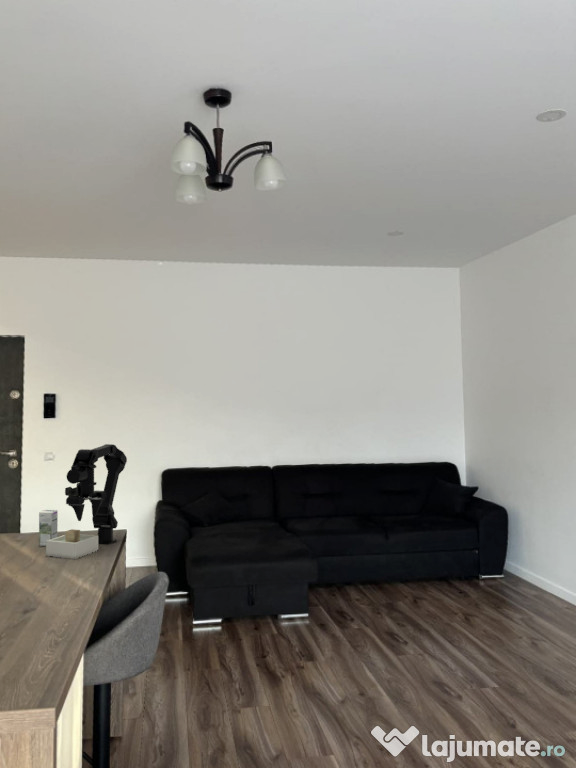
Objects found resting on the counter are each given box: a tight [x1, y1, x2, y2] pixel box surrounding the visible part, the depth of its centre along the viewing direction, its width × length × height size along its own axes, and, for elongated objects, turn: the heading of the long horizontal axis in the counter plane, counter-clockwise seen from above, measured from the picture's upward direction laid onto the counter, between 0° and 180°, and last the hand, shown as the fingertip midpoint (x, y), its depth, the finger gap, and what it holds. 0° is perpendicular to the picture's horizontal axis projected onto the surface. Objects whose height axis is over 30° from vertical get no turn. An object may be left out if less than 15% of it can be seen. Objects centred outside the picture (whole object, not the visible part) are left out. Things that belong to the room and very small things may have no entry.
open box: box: [45, 533, 99, 560], centre depth 252 cm, size 14×14×6 cm
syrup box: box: [38, 509, 59, 547], centre depth 266 cm, size 6×6×14 cm
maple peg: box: [64, 529, 81, 543], centre depth 252 cm, size 4×4×8 cm
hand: (86, 518), depth 256 cm, fingers open, 9 cm apart
